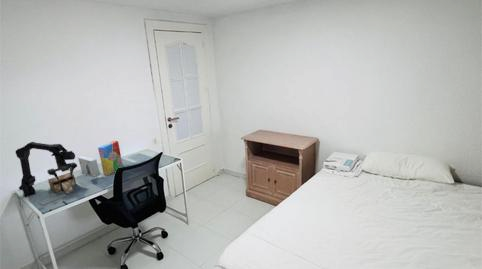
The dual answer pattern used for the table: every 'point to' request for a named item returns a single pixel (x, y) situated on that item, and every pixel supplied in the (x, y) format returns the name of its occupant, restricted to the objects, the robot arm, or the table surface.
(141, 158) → the table surface
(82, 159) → the skincare box
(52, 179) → the brown storage crate
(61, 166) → the robot arm
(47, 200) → the pad
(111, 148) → the game box
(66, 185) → the block
